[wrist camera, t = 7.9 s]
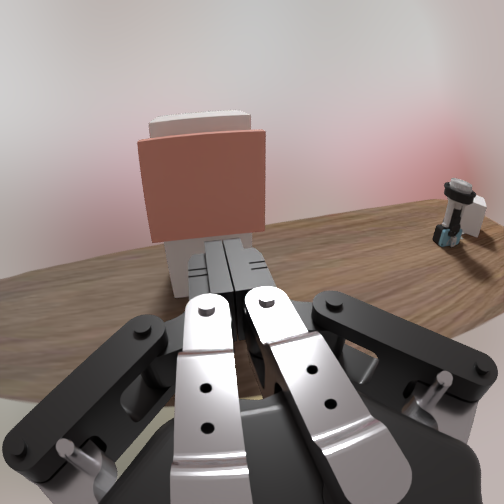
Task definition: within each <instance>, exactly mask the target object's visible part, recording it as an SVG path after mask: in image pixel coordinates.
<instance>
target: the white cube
mask: <svg viewBox="0 0 504 504" xmlns="http://www.w3.org/2000/svg"><path fill="white" fill-rule="evenodd" d="M485 211H486V203H485V200H484V198H482V197H479V196H477V195H476V197H475V198H474V200H473V203H472V204H470V205H467V206H465V209H464V213H463V217H462V221H461V229H462V230H463V232H464V233H466V234H469V235H472V236H474V237H477V238H478V235H479V232H480V229H481V225H482V222H483V219H484V215H485Z"/></svg>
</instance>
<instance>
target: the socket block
mask: <svg viewBox="0 0 504 504" xmlns="http://www.w3.org/2000/svg"><path fill="white" fill-rule="evenodd" d="M234 130H251V115H250V114H247V113H244V112H242V111H239V110H226V111H208V112H195V113H185V114H175V115H166V116H159V117H157V118H155V119H154V120H153V121H151V122H150V123H149V133H150V138H156V137H164V136H173V135H182V134H192V133H203V132H217V131H234ZM230 238H240V239H241V242H242V245H243V247H244V249H246V248H252V233H242V234H232V235H222V236H212V237H203V238H193V239H184V240H175V241H166V242H164V246H165V252H166V257H167V263H168V268H169V273H170V278H171V283H172V288H173V293H174V298H180V297H189V284H188V261H189V259H190V258H191V256H192V255H194V254H203V253H205V246H204V241H213V240H221V241H222V240H223V239H230ZM222 245H223V244H222Z"/></svg>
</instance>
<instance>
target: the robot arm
mask: <svg viewBox="0 0 504 504" xmlns="http://www.w3.org/2000/svg"><path fill="white" fill-rule="evenodd" d="M222 244H223V245H222ZM204 246H205V253H203V254H194V255H192V256H191V258H190V259H189V261H188V284H189V302H188V304H187V305H186V309H185V312H184V313H183V314H181V315H180V316H178V317H177V318H174V319H172V320H169V321H166V322H163V321H162V319H160V318H159V317H157V316H155V315H140V316H137V317H135V318H133V319H131V320H130V321H128V322H127V323H126V324H125V325H124V326H123V327H122V328H120V329H119V330H118V331H117V332H116V333H115V334H114V335H113V336H111V337H110V338H109V339H108V340H107V341H106V342H105V343H104V344H102V345H101V346H100V347H99V348H98V349H97V350H96V351H95V352H94V353H93V354H91V355H90V356H89V357H88V358H87V359H86V360H85V361H84V362H83V363H82V364H80V365H79V366H78V367H77V368H76V369H75V370H74V371H73V372H72V373H71V374H70V375H68V376H67V377H66V378H65V379H64V380H63V381H62V382H61V383H60V384H59V385H58V386H57V387H56V388H55V389H53V390H52V391H51V392H50V393H49V394H48V395H47V396H46V397H45V398H44V399H43V400H42V401H41V402H40V403H39V404H38V405H37V406H35V407H34V409H32V411H30V412H29V413H28V414H27V415H26V416H25V417H24V418H23V419H22V420H21V421H20V422H19V423H18V424H17V425H16V426H15V427H14V428H13V429H12V430H11V431H10V432H9V433H8V434H7V435H6V437H5V439H4V441H3V446H2V451H3V457H4V459H5V461H6V463H7V464H8V465H9V466H10V467H11V468H12V469H14V470H15V471H17V472H18V473H20V474H21V475H23V476H24V477H26V478H27V479H28V480H29V481H31V482H33V483H34V484H36V485H38V487H39V488H40V489H41V490H42V491H43V492H44V494H45V495H46V496H47V497H48V498H49V499H50V501H51V502H52V503H53V504H483V503H482V496H481V469H480V463H479V460H478V458H477V456H476V454H475V453H474V451H473V450H472V449H471V448H470V447H469V446H468V445H467V441H468V438H469V435H470V431H471V428H472V424H473V421H474V416H475V413H476V408H477V404H478V401H479V400H480V399H481V398H482V396H483V395H484V394H485V393H486V392H487V391H488V389H489V388H490V387H491V386H492V384H493V383H494V382H495V380H496V379H497V376H498V370H497V366H496V364H495V362H494V361H493V360H492V358H490V357H489V356H488V355H487V354H485V353H482V352H480V351H478V350H475V349H473V348H470V347H468V346H466V345H463V344H461V343H459V342H457V341H454V340H452V339H449V338H447V337H445V336H442V335H440V334H438V333H435V332H433V331H431V330H428V329H426V328H424V327H421V326H419V325H417V324H414V323H412V322H409V321H407V320H405V319H402V318H400V317H398V316H395V315H393V314H391V313H388V312H386V311H384V310H381V309H379V308H377V307H374V306H372V305H370V304H367V303H365V302H363V301H360V300H358V299H356V298H353V297H351V296H348V295H346V294H344V293H341V292H338V291H324V292H321V293H319V294H317V295H316V296H315V297H314V299H313V303H312V302H298V301H293V300H290V299H288V297H287V295H286V294H285V293H284V292H283V291H282V290H280V289H278V288H277V287H276V285H275V283H274V281H273V278H272V276H271V274H270V272H269V269H268V268H267V265H266V263H265V260H264V258H263V256H262V254H261V253H260V252H259V251H258V250H256V249H255V248H246V249H244V247H243V245H242V242H241V239H240V238H230V239H223V240H222V241H221V240H213V241H204ZM236 330H237V333H236ZM237 335H238V339H239V340H245V339H246V343H247V353H248V358H249V361H250V364H251V367H252V370H253V372H254V375H255V378H256V380H257V383H258V386H259V389H260V391H261V394H262V397H263V399H262V400H246V399H239V398H238V390H237V381H236V372H235V363H234V352H235V350H234V341H237ZM346 339H347V340H349V341H351V342H353V343H355V344H357V345H359V346H362V347H364V348H366V349H368V350H370V351H372V352H374V353H375V354H376V355H377V357H378V359H376V358H373V357H371V356H369V355H367V354H365V353H363V352H361V351H359V350H357V349H354V348H352V347H350V346H348V345H346V344H344V343H345V340H346ZM174 394H175V417H174V418H173V419H171V420H169V421H168V422H166V423H165V424H164V425H162V426H161V427H160V428H159V429H158V430H157V431H156V432H155V433H154V435H153V436H152V437H151V438H150V440H149V441H148V442H147V443H146V445H145V446H144V447H143V449H142V450H141V451H140V452H139V454H138V455H137V456H136V457H135V459H134V460H133V461H132V462H131V464H130V465H129V466H128V468H127V469H126V470H125V471H124V472H123V474H122V475H121V476H120V478H119V479H118V480H117V481H116V479H117V468H116V465H115V462H116V461H117V460H118V458H119V457H120V456H121V455H122V454H123V453H124V452H125V450H126V449H127V448H128V447H129V446H130V445H131V444H132V443H133V441H134V440H135V439H136V438H137V437H138V436H139V435H140V433H141V432H142V431H143V430H144V429H145V428H146V426H147V425H148V424H149V423H150V422H151V421H152V420H153V418H154V417H155V416H156V415H157V414H158V413H159V411H160V410H161V409H162V408H163V407H164V405H165V404H166V403H167V402H168V401H169V400H170V398H171V397H172V396H173V395H174Z"/></svg>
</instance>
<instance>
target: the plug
mask: <svg viewBox="0 0 504 504" xmlns="http://www.w3.org/2000/svg"><path fill="white" fill-rule="evenodd" d="M265 133H266V132H265V131H264V130H262V129H261V130H234V131H217V132H203V133H192V134H182V135H173V136H164V137H156V138H149V139H142V140H139V141H138V143H137V144H138V154H139V161H140V170H141V178H142V185H143V192H144V198H145V204H146V210H147V217H148V222H149V228H150V233H151V239H152V243H157V242H166V241H175V240H184V239H193V238H203V237H212V236H222V235H232V234H242V233H252V232H263V231H265V142H266V141H265V140H266V139H265V137H266V134H265Z"/></svg>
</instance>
